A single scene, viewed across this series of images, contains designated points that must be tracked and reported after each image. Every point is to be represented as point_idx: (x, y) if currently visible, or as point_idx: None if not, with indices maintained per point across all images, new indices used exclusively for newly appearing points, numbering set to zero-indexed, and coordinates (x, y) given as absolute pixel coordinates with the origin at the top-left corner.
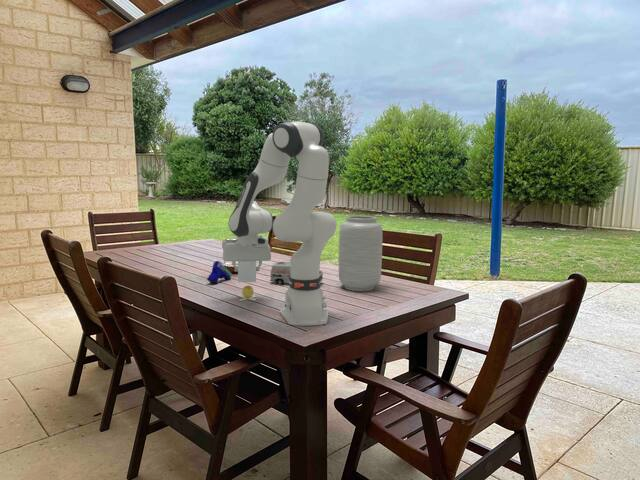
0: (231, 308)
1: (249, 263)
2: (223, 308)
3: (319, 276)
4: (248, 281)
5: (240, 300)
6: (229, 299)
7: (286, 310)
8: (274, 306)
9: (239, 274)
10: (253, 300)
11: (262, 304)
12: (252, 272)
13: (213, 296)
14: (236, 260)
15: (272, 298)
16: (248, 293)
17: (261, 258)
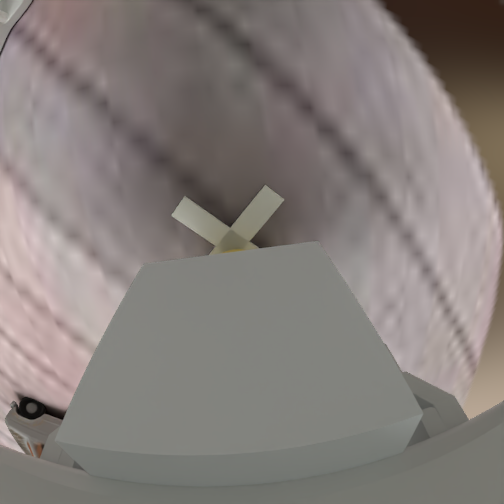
0: (301, 24)
1: (174, 420)
2: (347, 29)
3: (5, 422)
4: (214, 256)
5: (272, 190)
6: (341, 216)
7: (4, 2)
8: (54, 94)
9: (325, 280)
10: (188, 198)
11: (119, 118)
12: (153, 316)
13: (416, 269)
14: (430, 444)
15: (93, 251)
16: (227, 252)
17: (17, 479)
